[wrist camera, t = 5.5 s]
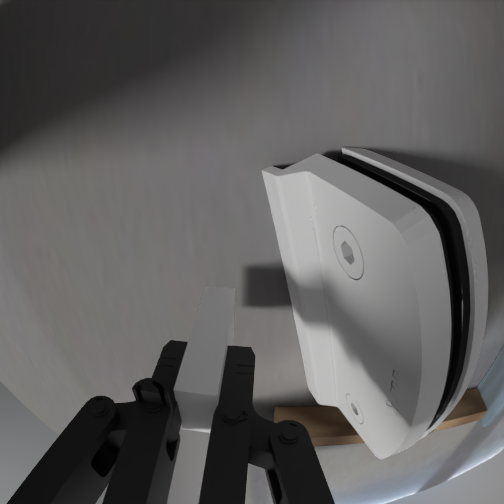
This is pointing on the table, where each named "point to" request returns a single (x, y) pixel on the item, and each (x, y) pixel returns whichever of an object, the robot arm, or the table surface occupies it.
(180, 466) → the foam cup
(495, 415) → the wooden handled mallet
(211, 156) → the table surface
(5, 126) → the table surface
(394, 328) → the white piece
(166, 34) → the table surface
